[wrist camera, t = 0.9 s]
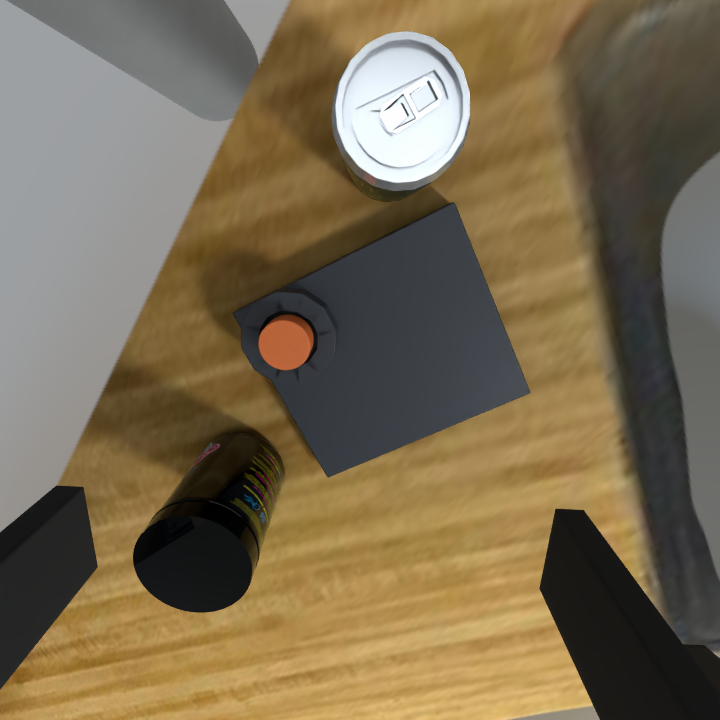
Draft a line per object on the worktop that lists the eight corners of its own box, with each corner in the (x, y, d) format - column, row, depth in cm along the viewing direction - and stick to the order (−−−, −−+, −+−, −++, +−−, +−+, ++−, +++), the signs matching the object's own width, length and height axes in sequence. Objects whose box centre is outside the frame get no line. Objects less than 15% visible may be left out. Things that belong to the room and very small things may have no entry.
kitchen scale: (236, 309, 30) (223, 318, 28) (450, 201, 28) (459, 199, 25) (328, 468, 34) (324, 490, 31) (524, 386, 32) (539, 402, 29)
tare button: (255, 327, 28) (248, 333, 26) (299, 305, 28) (294, 311, 26) (279, 369, 29) (274, 378, 27) (322, 349, 28) (319, 357, 27)
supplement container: (237, 410, 33) (179, 492, 23) (304, 465, 34) (277, 565, 24) (184, 466, 34) (108, 566, 25) (250, 517, 36) (204, 631, 26)
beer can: (405, 89, 26) (432, -13, 15) (447, 172, 28) (502, 136, 16) (329, 142, 27) (300, 83, 16) (374, 219, 28) (376, 217, 17)
